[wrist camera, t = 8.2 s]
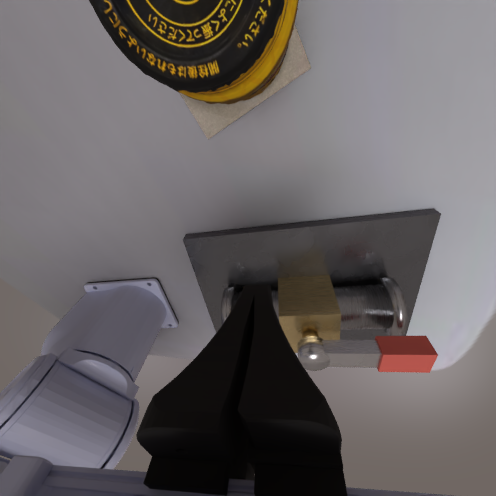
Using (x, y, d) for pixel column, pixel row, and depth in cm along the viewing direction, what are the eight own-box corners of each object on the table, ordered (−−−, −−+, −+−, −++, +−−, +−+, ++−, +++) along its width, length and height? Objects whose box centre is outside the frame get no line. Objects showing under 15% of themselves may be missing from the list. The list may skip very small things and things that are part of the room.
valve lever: (297, 353, 21) (298, 370, 19) (296, 335, 19) (298, 353, 18) (418, 353, 19) (429, 373, 18) (426, 335, 18) (438, 354, 17)
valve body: (221, 337, 32) (210, 392, 26) (186, 234, 23) (156, 280, 18) (400, 333, 28) (433, 395, 22) (433, 208, 20) (501, 256, 14)
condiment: (310, 68, 16) (376, 19, 6) (208, 139, 19) (130, 190, 8) (255, -80, 12) (177, -787, 2) (143, 34, 15) (-100, -79, 5)
